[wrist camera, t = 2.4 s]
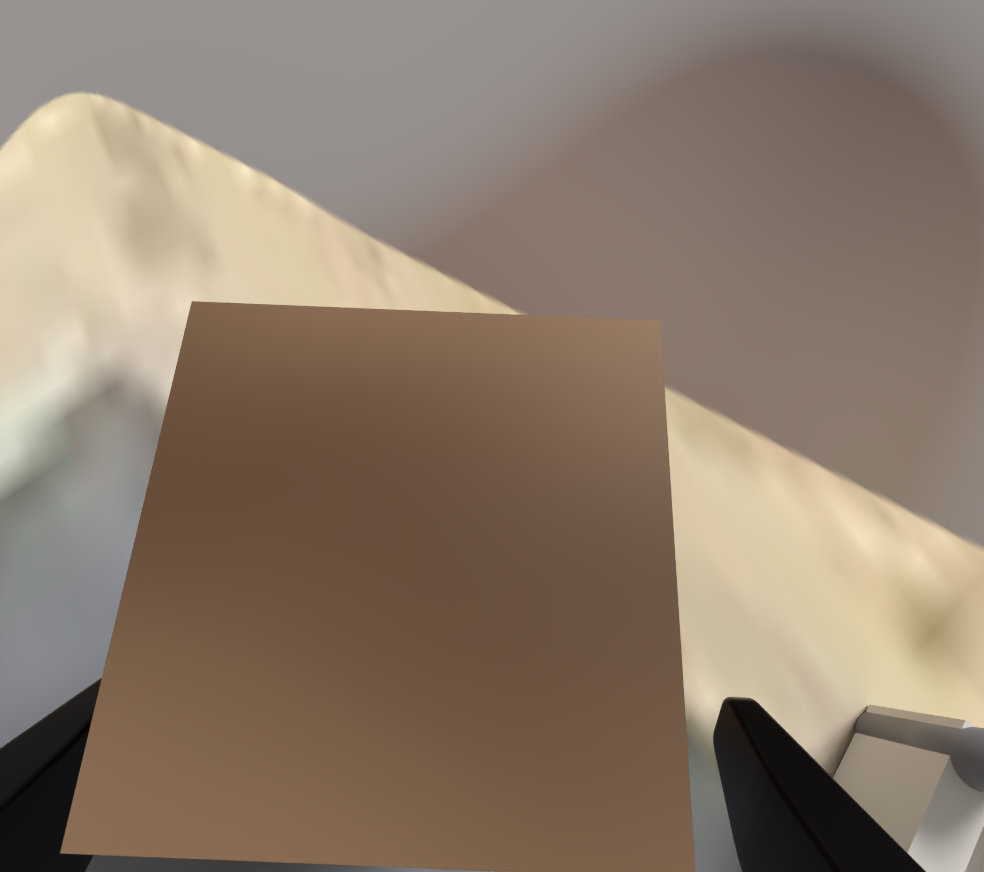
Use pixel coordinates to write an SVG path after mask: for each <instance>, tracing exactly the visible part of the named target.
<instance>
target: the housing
mask: <svg viewBox="0 0 984 872" xmlns="http://www.w3.org/2000/svg"><path fill="white" fill-rule="evenodd" d="M833 779H834V780H835V781H836V782H837V783H838V784H839V785H840V786H841V787H842V788H843V789H844V790H845V791H846V792H847V793H848V794H849V795H850V796H851V797H852V798H853V799H854V800H855V801H856V802H857V803H858V804H859V805H860V806H861V807H862V808H863V809H864V810H865V811H866V812H867V813H868V814H869V815H870V816H871V817H872V818H873V819H874V820H875V821H876V822H877V823H878V824H879V825H880V826H881V827H882V828H883V829H884V830H885V831H886V832H887V833H888V834H889V835H890V836H891V837H892V838H893V839H894V840H895V841H896V842H897V843H898V844H899V845H900V846H901V847H902V848H903V849H904V850H905V851H906V852H907V853H908V854H909V855H910V856H911V857H912V858H913V859H914V860H915V861H916V862H917V863H918V864H919V865H920V866H921V867H922V868H923V869H924V870H925V871H926V872H984V728H978V727H974V726H973V725H971V724H970V723H969V722H967V721H966V720H960V719H954V718H948V717H941V716H935V715H929V714H923V713H917V712H911V711H905V710H898V709H892V708H886V707H880V706H874V705H869V706H868V708H867V710H866V712H864V713H863V714H862V715H861V716H860V717H859V718H858V720H857V722H856V726H855V734H854V736H853V738H852V740H851V742H850V744H849V746H848V748H847V750H846V752H845V755H844V757H843V759H842V761H841V763H840V765H839V767H838V769H837V771H836V773H835V775H834V777H833Z"/></svg>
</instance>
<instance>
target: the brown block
mask: <svg viewBox="0 0 984 872" xmlns="http://www.w3.org/2000/svg"><path fill="white" fill-rule="evenodd" d="M60 853H62V854H86V855H111V856H135V857H160V858H184V859H209V860H233V861H258V862H282V863H307V864H331V865H356V866H380V867H405V868H429V869H454V870H478V871H503V872H695V860H694V844H693V828H692V813H691V797H690V781H689V765H688V750H687V734H686V718H685V703H684V687H683V671H682V655H681V640H680V624H679V608H678V592H677V577H676V561H675V545H674V530H673V514H672V498H671V482H670V467H669V451H668V435H667V419H666V404H665V388H664V373H663V357H662V342H661V325H660V321H654V320H629V319H606V318H582V317H581V318H580V317H557V316H533V315H509V314H485V313H461V312H437V311H412V310H388V309H364V308H340V307H315V306H291V305H267V304H243V303H218V302H194V301H192V303H191V307H190V311H189V316H188V320H187V324H186V328H185V332H184V337H183V341H182V345H181V349H180V353H179V357H178V362H177V366H176V370H175V374H174V378H173V383H172V387H171V391H170V395H169V399H168V403H167V408H166V412H165V416H164V420H163V424H162V429H161V433H160V437H159V441H158V445H157V450H156V454H155V458H154V462H153V466H152V470H151V475H150V479H149V483H148V487H147V491H146V496H145V500H144V504H143V508H142V512H141V517H140V521H139V525H138V529H137V533H136V537H135V542H134V546H133V550H132V554H131V558H130V563H129V567H128V571H127V575H126V579H125V583H124V588H123V592H122V596H121V600H120V604H119V609H118V613H117V617H116V621H115V625H114V630H113V634H112V638H111V642H110V646H109V650H108V655H107V659H106V663H105V667H104V671H103V676H102V680H101V684H100V688H99V692H98V697H97V701H96V705H95V709H94V713H93V717H92V722H91V726H90V730H89V734H88V738H87V743H86V747H85V751H84V755H83V759H82V763H81V768H80V772H79V776H78V780H77V784H76V789H75V793H74V797H73V801H72V805H71V810H70V814H69V818H68V822H67V826H66V830H65V835H64V839H63V843H62V847H61V851H60Z"/></svg>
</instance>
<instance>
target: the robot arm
mask: <svg viewBox="0 0 984 872" xmlns="http://www.w3.org/2000/svg"><path fill="white" fill-rule="evenodd" d="M101 680H102V678H101V679H99V680H98V681H96V682H95V683H93V684H92V685H90V686H89V687H88V688H86V689H85V690H83V691H82V692H80V693H79V694H78V695H76V696H75V697H73V698H72V699H70V700H69V701H67V702H66V703H65V704H63V705H62V706H60V707H59V708H57V709H56V710H55V711H53V712H52V713H50V714H49V715H47V716H46V717H44V718H43V719H42V720H40V721H39V722H37V723H36V724H34V725H33V726H32V727H30V728H29V729H27V730H26V731H24V732H23V733H21V734H20V735H19V736H17V737H16V738H14V739H13V740H11V741H10V742H9V743H7V744H6V745H4V746H3V747H1V748H0V872H85V871H86V869H87V867H88V865H89V863H90V861H91V859H92V857H93V855H86V854H62V853H60V851H61V847H62V843H63V839H64V835H65V830H66V826H67V822H68V818H69V814H70V810H71V805H72V801H73V797H74V793H75V789H76V784H77V780H78V776H79V772H80V768H81V763H82V759H83V755H84V751H85V747H86V743H87V738H88V734H89V730H90V726H91V722H92V717H93V713H94V709H95V705H96V701H97V697H98V692H99V688H100V684H101ZM713 743H714V750H715V755H716V760H717V764H718V769H719V774H720V778H721V783H722V787H723V792H724V797H725V801H726V806H727V811H728V815H729V820H730V825H731V829H732V834H733V839H734V843H735V847H736V851H737V855H738V859H739V862H740V866H741V869H742V872H926V871H925V870H924V869H923V868H922V867H921V866H920V865H919V864H918V863H917V862H916V861H915V860H914V859H913V858H912V857H911V856H910V855H909V854H908V853H907V852H906V851H905V850H904V849H903V848H902V847H901V846H900V845H899V844H898V843H897V842H896V841H895V840H894V839H893V838H892V837H891V836H890V835H889V834H888V833H887V832H886V831H885V830H884V829H883V828H882V827H881V826H880V825H879V824H878V823H877V822H876V821H875V820H874V819H873V818H872V817H871V816H870V815H869V814H868V813H867V812H866V811H865V810H864V809H863V808H862V807H861V806H860V805H859V804H858V803H857V802H856V801H855V800H854V799H853V798H852V797H851V796H850V795H849V794H848V793H847V792H846V791H845V790H844V789H843V788H842V787H841V786H840V785H839V784H838V783H837V782H836V781H835V780H834V779H833V778H832V777H831V776H830V775H829V774H828V773H827V772H826V771H825V770H824V769H823V768H822V767H821V766H820V765H819V764H818V763H817V762H816V761H815V760H814V759H813V758H812V757H811V756H810V755H809V754H808V753H807V752H806V751H805V750H804V749H803V748H802V747H801V746H800V745H799V744H798V743H797V742H796V741H795V740H794V739H793V738H792V737H791V736H790V735H789V734H788V733H787V732H786V731H785V730H784V729H783V728H782V727H781V726H780V725H779V724H778V723H777V722H776V721H775V720H774V719H773V717H772V716H771V715H770V714H769V713H768V712H767V711H766V710H765V709H764V708H763V707H762V706H761V705H760V704H759V703H757V702H756V701H755V700H753V699H751V698H742V697H727V698H726V699H725V700H724V701H723V703H722V706H721V710H720V713H719V716H718V720H717V723H716V726H715V730H714V735H713Z"/></svg>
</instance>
